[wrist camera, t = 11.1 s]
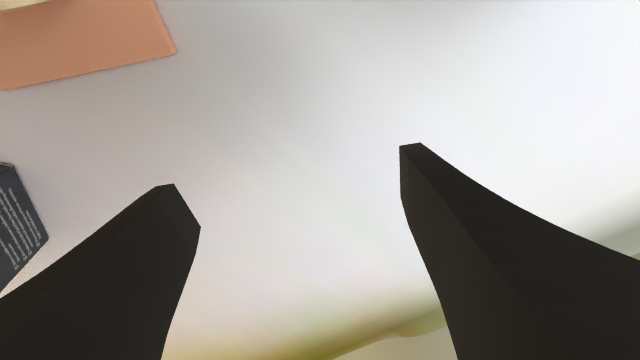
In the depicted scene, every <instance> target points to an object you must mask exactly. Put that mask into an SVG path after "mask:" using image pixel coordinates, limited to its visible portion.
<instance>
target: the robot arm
mask: <svg viewBox="0 0 640 360" xmlns="http://www.w3.org/2000/svg"><path fill="white" fill-rule="evenodd" d="M399 154H400V193H401V200H402V204H403V208H404V211H405V215H406V218H407V222H408V225H409V228H410V230H411V232H412V235H413V237H414V240H415V242H416V244H417V247H418V249H419V252H420V254H421V256H422V259H423V261H424V263H425V266H426V268H427V271H428V273H429V275H430V278H431V280H432V282H433V285H434V287H435V290H436V292H437V295H438V298H439V300H440V303H441V306H442V309H443V312H444V315H445V319H446V322H447V325H448V328H449V331H450V335H451V338H452V341H453V344H454V348H455V351H456V354H457V358H458V360H640V260H637V259H635V258H632V257H629V256H627V255H624V254H622V253H619V252H617V251H614V250H612V249H609V248H607V247H604V246H602V245H600V244H597V243H595V242H593V241H590V240H588V239H586V238H583V237H581V236H579V235H576V234H574V233H572V232H569V231H567V230H565V229H563V228H561V227H558V226H556V225H554V224H552V223H550V222H548V221H546V220H544V219H542V218H540V217H538V216H536V215H534V214H532V213H530V212H528V211H526V210H524V209H522V208H520V207H518V206H516V205H514V204H513V203H511V202H509V201H507V200H505V199H504V198H502V197H500V196H499V195H497V194H495V193H494V192H492V191H490V190H489V189H487V188H485V187H484V186H482V185H480V184H479V183H477V182H476V181H474V180H472V179H471V178H469V177H468V176H466V175H465V174H463V173H462V172H460V171H459V170H458V169H456V168H455V167H453V166H452V165H450V164H449V163H448V162H446V161H445V160H443V159H442V158H441V157H439V156H438V155H437V154H435V153H434V152H433V151H431V150H430V149H428V148H427V147H426V146H424V145H423V144H422V143H414V144H408V145H402V146H399ZM200 229H201V226H200V225H199V223H198V222H197V220H196V218H195V217H194V215H193V214H192V212H191V210H190V209H189V207H188V206H187V204H186V203H185V201H184V199H183V198H182V196H181V195H180V193H179V191H178V190H177V188H176V187H175V185H174V184H168V185H162V186H156V187H154V188H153V189H151V190H150V191H148V192H147V193H145V194H144V195H142V196H141V197H140V198H138V199H137V200H136V201H134V202H133V203H132V204H130V205H129V206H128V207H126V208H125V209H124V210H123V211H121V212H120V213H119V214H118V215H116V216H115V217H114V218H112V219H111V220H110V221H109V222H107V223H106V224H105V225H103V226H102V227H101V228H100V229H98V230H97V231H96V232H95V233H93V234H92V235H91V236H89V237H88V238H87V239H85V240H84V241H83V242H81V243H80V244H79V245H77V246H76V247H75V248H73V249H72V250H71V251H69V252H68V253H67V254H65V255H64V256H63V257H61V258H60V259H58V260H57V261H56V262H54V263H53V264H52V265H50V266H49V267H47V268H46V269H44V270H43V271H41V272H40V273H39V274H37V275H36V276H34V277H33V278H31V279H30V280H28V281H27V282H25V283H24V284H22V285H20V286H19V287H17V288H16V289H14V290H13V291H11V292H10V293H8V294H7V295H5V296H3V297H2V298H0V360H161V357H162V353H163V349H164V345H165V341H166V337H167V334H168V331H169V327H170V324H171V321H172V318H173V316H174V313H175V310H176V307H177V305H178V302H179V299H180V296H181V294H182V291H183V288H184V285H185V283H186V280H187V277H188V274H189V272H190V269H191V266H192V263H193V260H194V257H195V254H196V249H197V245H198V240H199V234H200Z"/></svg>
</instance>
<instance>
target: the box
mask: <svg viewBox="0 0 640 360" xmlns="http://www.w3.org/2000/svg"><path fill="white" fill-rule="evenodd" d="M48 239H49V238H48V235H47V233H46V231H45V229H44V228H43V225H42V224H41V221H40V219H39V217H38V216H37V214H36V212H35V210H34V208H33V206H32V204H31V201H30V199H29V197H28V196H27V193H26V191H25V189H24V187H23V185H22V183H21V182H20V180H19V177H18V175H17V173H16V171H15V169H14V167H13V165H10V164H3V163H0V292H1V291H2V290H3V289H4V288H5V287H6V286H7V284H8V283H9V282H10V281H11V280H12V279H13V278H14V277H15V276H16V275H17V274H18V272H19V271H20V270H21V269H22V268H23V267H24V266H25V265H26V264H27V263H28V261H29V260H30V259H31V258H32V257H33V256H34V255H35V254H36V253H37V252H38V251H39V249H40V248H41V247H42V246H43V245H44V244H45V243H46V242H47V241H48Z"/></svg>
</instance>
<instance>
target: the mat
mask: <svg viewBox="0 0 640 360" xmlns="http://www.w3.org/2000/svg"><path fill="white" fill-rule="evenodd" d="M175 53H177V50H176V48H175V46H174V44H173V41H172V39H171V37H170V35H169V33H168V30H167V28H166V26H165V24H164V22H163V19H162V17H161V15H160V13H159V11H158V9H157V6H156V4H155V2H154V0H56V1H51V2H47V3H43V4H38V5H34V6H30V7H25V8H21V9H17V10H12V11H8V12H4V13H0V89H1V90H2V91H6V90H10V89H15V88H20V87H25V86H29V85H34V84H39V83H43V82H48V81H53V80H58V79H62V78H67V77H72V76H77V75H81V74H86V73H91V72H96V71H100V70H105V69H110V68H114V67H119V66H124V65H129V64H133V63H138V62H143V61H148V60H152V59H157V58H162V57H166V56H171V55H174V54H175Z"/></svg>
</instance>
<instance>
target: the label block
mask: <svg viewBox="0 0 640 360" xmlns="http://www.w3.org/2000/svg"><path fill="white" fill-rule="evenodd" d="M51 1H56V0H0V13H4V12H8V11H12V10H17V9H21V8H25V7H30V6H34V5H38V4H43V3H47V2H51Z"/></svg>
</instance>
